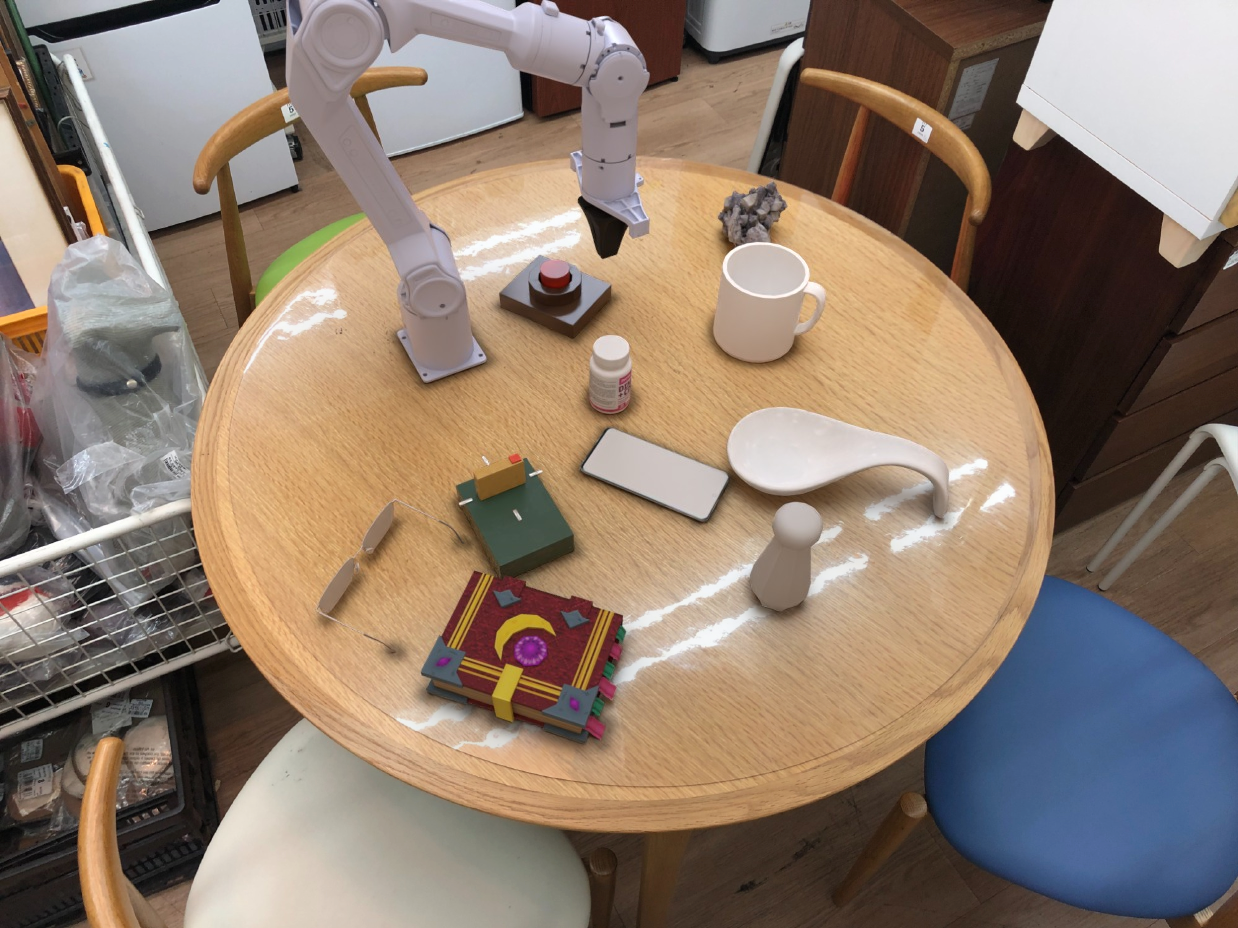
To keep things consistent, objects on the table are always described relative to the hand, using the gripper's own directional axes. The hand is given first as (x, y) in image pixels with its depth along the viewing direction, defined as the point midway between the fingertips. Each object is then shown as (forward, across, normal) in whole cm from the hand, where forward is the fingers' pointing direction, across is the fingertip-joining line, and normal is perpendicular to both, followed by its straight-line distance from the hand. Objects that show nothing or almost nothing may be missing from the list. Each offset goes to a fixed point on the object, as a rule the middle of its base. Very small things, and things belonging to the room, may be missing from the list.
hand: (607, 253), depth 103 cm
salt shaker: (+11, -42, +4) cm, 44 cm away
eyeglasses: (+11, -24, +36) cm, 44 cm away
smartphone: (+10, -24, +7) cm, 27 cm away
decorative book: (+11, -38, +28) cm, 48 cm away
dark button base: (+10, +6, +4) cm, 13 cm away
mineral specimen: (+11, +5, -25) cm, 27 cm away
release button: (+7, +6, +4) cm, 10 cm away
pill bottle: (+11, -12, +6) cm, 17 cm away
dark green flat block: (+10, -22, +23) cm, 33 cm away
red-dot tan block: (+7, -20, +23) cm, 31 cm away
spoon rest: (+11, -34, -10) cm, 36 cm away
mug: (+11, -12, -16) cm, 22 cm away
